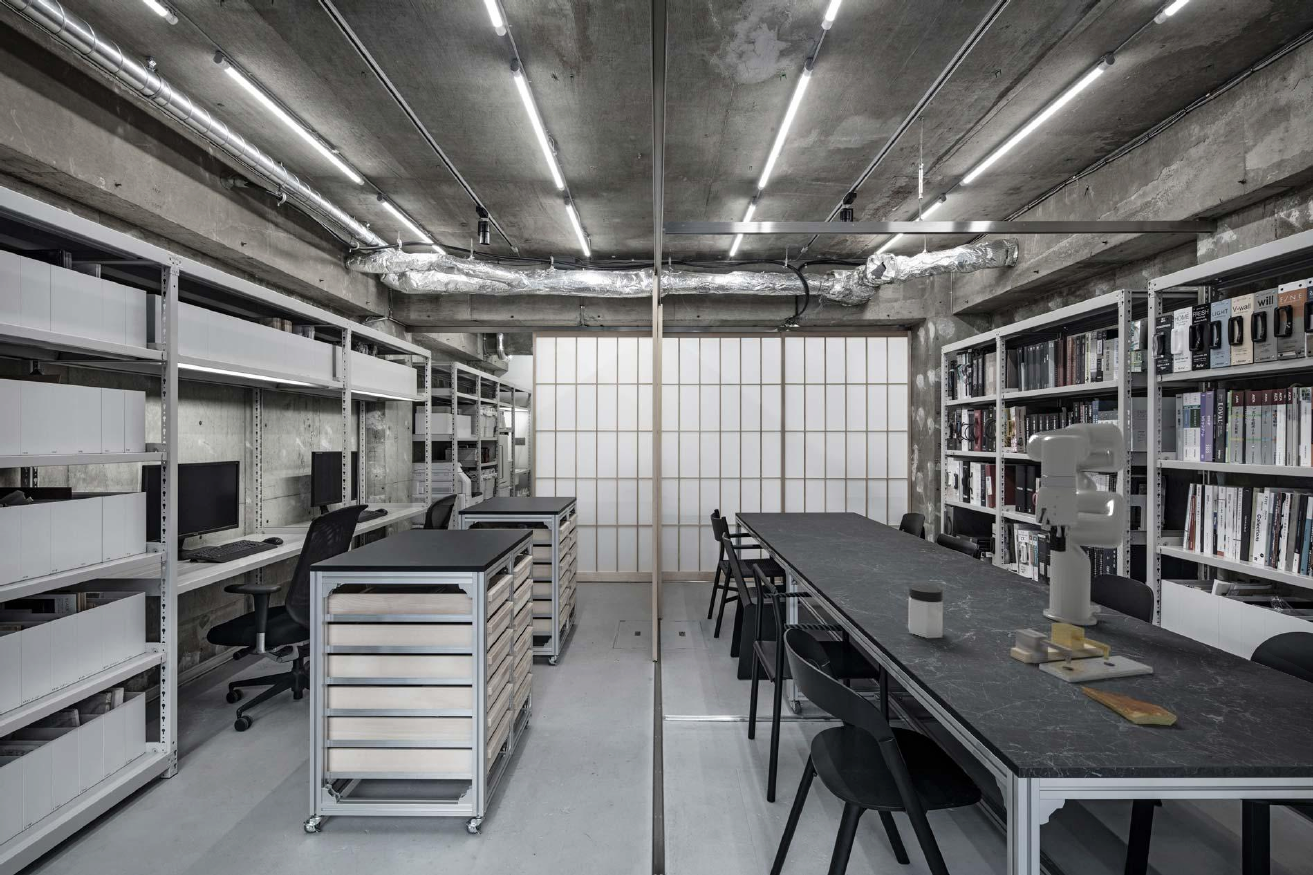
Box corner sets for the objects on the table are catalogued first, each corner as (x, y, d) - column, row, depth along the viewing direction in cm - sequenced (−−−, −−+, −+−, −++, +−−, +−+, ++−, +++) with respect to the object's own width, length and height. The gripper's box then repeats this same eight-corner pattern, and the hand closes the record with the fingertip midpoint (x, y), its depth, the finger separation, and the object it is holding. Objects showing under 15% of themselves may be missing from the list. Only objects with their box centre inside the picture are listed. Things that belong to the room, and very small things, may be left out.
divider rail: (1085, 648, 139) (1086, 624, 139) (1137, 667, 127) (1138, 641, 127) (1008, 655, 133) (1009, 630, 133) (1056, 676, 121) (1056, 649, 121)
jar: (948, 634, 147) (949, 589, 147) (935, 641, 141) (935, 594, 142) (915, 625, 154) (916, 582, 154) (901, 631, 148) (901, 586, 148)
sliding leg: (1064, 641, 137) (1064, 622, 137) (1114, 660, 125) (1115, 639, 125) (1051, 642, 136) (1051, 623, 136) (1101, 661, 124) (1101, 640, 124)
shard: (1079, 693, 114) (1080, 682, 114) (1126, 695, 114) (1126, 684, 114) (1131, 725, 101) (1131, 714, 101) (1184, 728, 101) (1184, 716, 101)
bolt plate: (1119, 660, 131) (1119, 655, 131) (1152, 672, 124) (1152, 667, 124) (1039, 668, 125) (1039, 663, 125) (1069, 682, 118) (1069, 676, 118)
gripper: (1064, 480, 153) (1063, 546, 153) (1024, 482, 148) (1023, 549, 149) (1093, 482, 146) (1092, 551, 146) (1051, 484, 141) (1051, 556, 141)
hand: (1057, 550), depth 147 cm, fingers closed
